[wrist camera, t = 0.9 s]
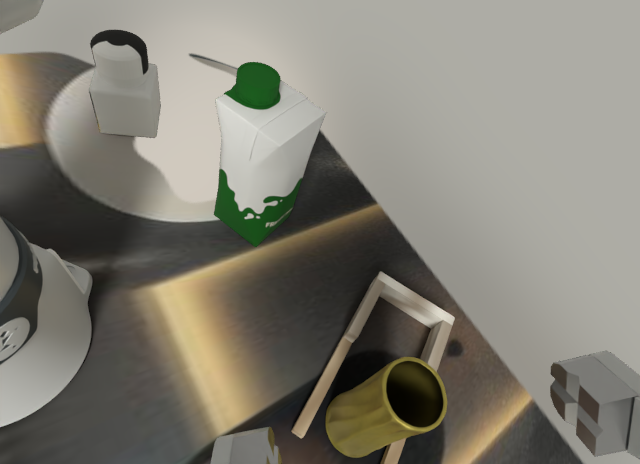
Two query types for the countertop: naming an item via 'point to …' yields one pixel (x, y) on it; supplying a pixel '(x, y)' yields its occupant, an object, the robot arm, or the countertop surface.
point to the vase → (387, 408)
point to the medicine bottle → (124, 85)
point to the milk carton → (262, 150)
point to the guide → (379, 287)
